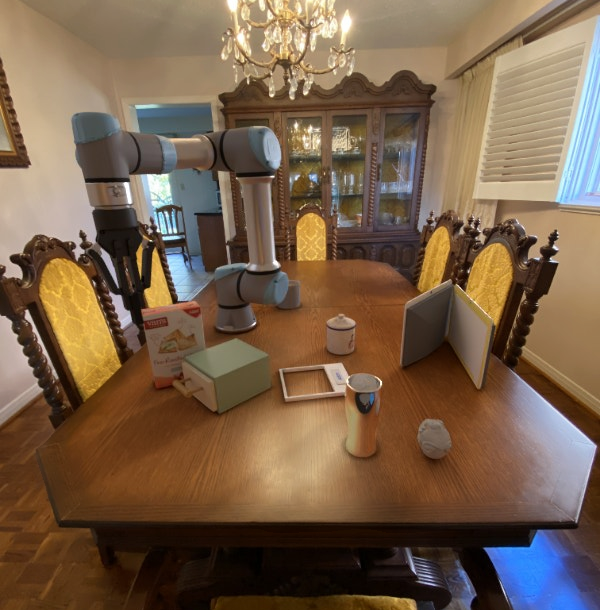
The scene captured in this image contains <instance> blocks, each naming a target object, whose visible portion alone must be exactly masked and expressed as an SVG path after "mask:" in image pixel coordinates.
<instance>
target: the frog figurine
mask: <svg viewBox="0 0 600 610" xmlns="http://www.w3.org/2000/svg"><path fill="white" fill-rule="evenodd" d="M416 439H417V441H418V442H417V443H418V445H419V446H420V449H421V451H422V452H423V454H424V455H425V456H426V457H428V458H430V459H433V460H439V459H442V458H444V457H445V456H447V454H449V453H450V449H452V441H451V435H450V433H449V431H448V429H447V427H446V425H445V423H444V421H442V420H441V419H435V418H434V419H433V418H431V419H430V418H426V419H424V420H423V421H422V422H421V423H420V425H419V427H418V434H417V436H416Z"/></svg>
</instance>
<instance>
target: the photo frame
mask: <svg viewBox="0 0 600 610" xmlns="http://www.w3.org/2000/svg"><path fill="white" fill-rule="evenodd" d="M321 369H322V370H324V372H325V374H326V377H327V379H328V381H329V383H330V386H331V388H332V390H333V391H328V392H318V393H310V394H301V395H300V394H299V395H291V396H288V392H287V388H286V383H285V378H284V373H292V372H302V371H304V372H305V371H312V370H321ZM278 370H279V372H278V373H279V377H280V382H281V388H282V392H283V396H284V397H283V398H284V402H285V403H287V402H295V401H296V402H297V401H305V400H313V399H324V398H333V397H343V396H345V389H346V380H347V378H348V377H349V376H350V375H349V374H348V372H347V370H346V368H345V366H344V364H343V362H336V363H326V364H317V365H305V366H295V367H287V368H286V367H285V368H284V367H283V368H279V369H278Z"/></svg>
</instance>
